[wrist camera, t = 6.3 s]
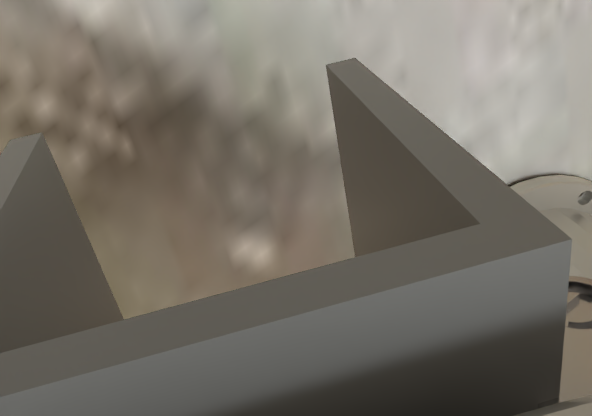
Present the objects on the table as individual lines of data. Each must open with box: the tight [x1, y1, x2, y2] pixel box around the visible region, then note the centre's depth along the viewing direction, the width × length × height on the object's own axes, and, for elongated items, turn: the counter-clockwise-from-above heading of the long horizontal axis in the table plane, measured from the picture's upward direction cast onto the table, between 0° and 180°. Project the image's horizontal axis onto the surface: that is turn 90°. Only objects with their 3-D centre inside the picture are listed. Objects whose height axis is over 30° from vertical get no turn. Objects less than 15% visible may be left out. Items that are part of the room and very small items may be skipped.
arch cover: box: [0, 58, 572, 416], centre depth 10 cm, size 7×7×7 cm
